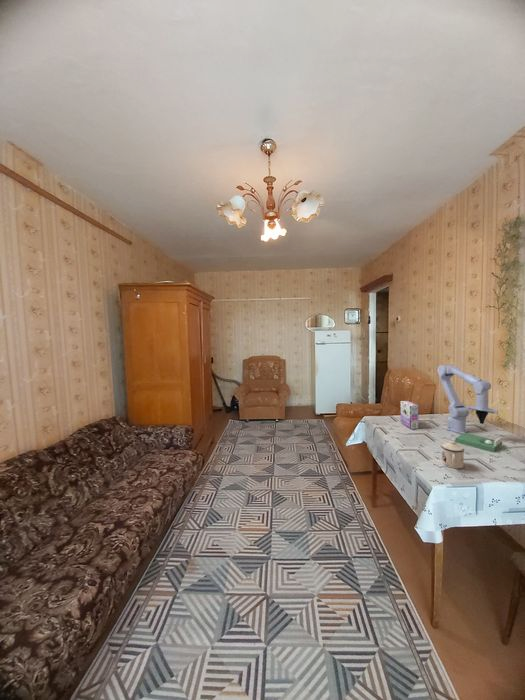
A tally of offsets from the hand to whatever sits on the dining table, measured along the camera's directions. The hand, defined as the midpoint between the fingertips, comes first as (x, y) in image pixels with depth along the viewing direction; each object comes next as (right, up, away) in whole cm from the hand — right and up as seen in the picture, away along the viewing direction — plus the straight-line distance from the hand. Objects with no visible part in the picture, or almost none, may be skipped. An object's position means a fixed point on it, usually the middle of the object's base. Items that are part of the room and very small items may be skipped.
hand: (481, 423), depth 163 cm
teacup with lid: (-38, -13, -30) cm, 50 cm away
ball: (-4, -9, -9) cm, 13 cm away
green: (-6, -10, -5) cm, 13 cm away
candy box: (-28, -10, +28) cm, 41 cm away
